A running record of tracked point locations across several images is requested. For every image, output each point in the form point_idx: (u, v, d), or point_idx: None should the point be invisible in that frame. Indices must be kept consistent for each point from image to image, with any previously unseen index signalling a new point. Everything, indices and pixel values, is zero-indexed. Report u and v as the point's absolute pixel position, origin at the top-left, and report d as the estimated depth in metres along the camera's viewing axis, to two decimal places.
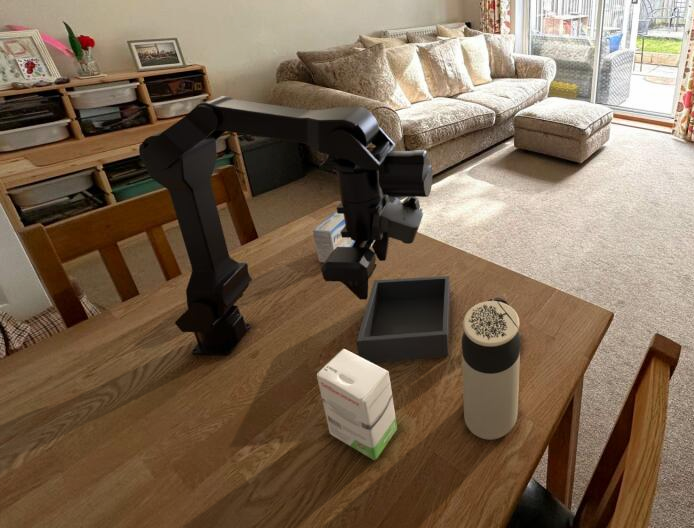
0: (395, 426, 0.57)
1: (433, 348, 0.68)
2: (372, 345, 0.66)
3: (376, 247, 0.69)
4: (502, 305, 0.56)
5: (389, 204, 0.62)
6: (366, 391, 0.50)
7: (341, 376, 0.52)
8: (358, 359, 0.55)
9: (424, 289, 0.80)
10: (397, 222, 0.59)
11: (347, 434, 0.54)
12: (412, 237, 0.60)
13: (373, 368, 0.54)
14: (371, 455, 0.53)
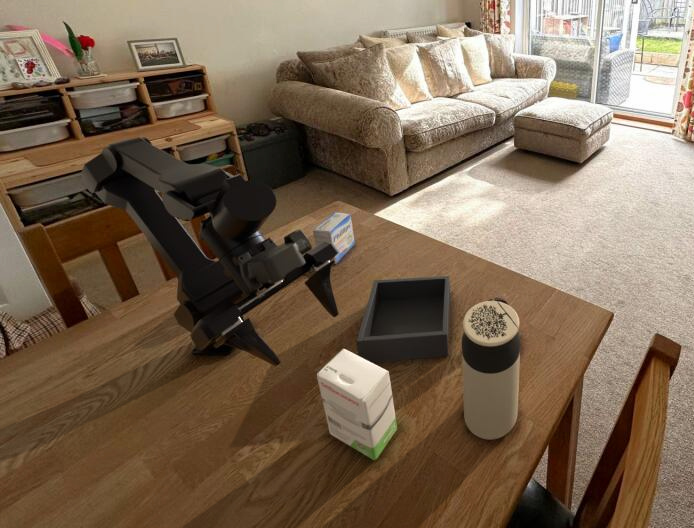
0: (395, 426, 0.57)
1: (433, 348, 0.68)
2: (372, 345, 0.66)
3: (323, 303, 0.60)
4: (502, 305, 0.56)
5: (271, 248, 0.55)
6: (366, 391, 0.50)
7: (341, 376, 0.52)
8: (358, 359, 0.55)
9: (424, 289, 0.80)
10: (252, 262, 0.51)
11: (347, 434, 0.54)
12: (271, 273, 0.50)
13: (373, 368, 0.54)
14: (371, 455, 0.53)
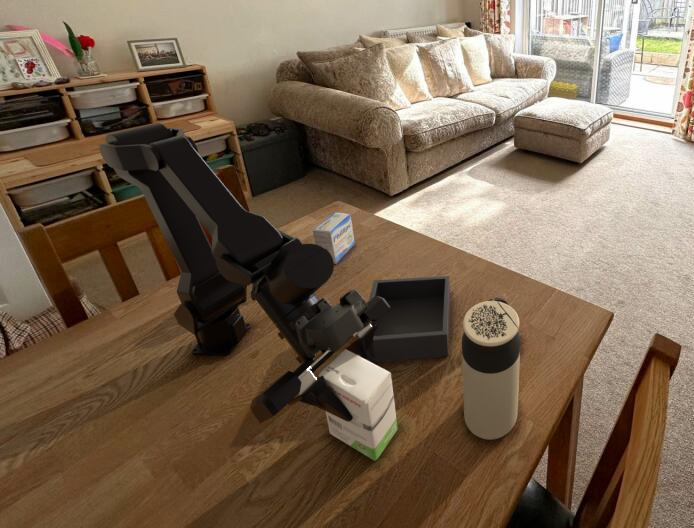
0: (396, 426, 0.57)
1: (433, 348, 0.68)
2: None
3: None
4: (502, 305, 0.56)
5: (326, 309, 0.54)
6: (369, 393, 0.50)
7: (343, 377, 0.52)
8: (360, 360, 0.55)
9: (424, 289, 0.80)
10: (312, 329, 0.49)
11: (348, 434, 0.54)
12: (332, 341, 0.48)
13: (375, 369, 0.53)
14: (372, 456, 0.53)
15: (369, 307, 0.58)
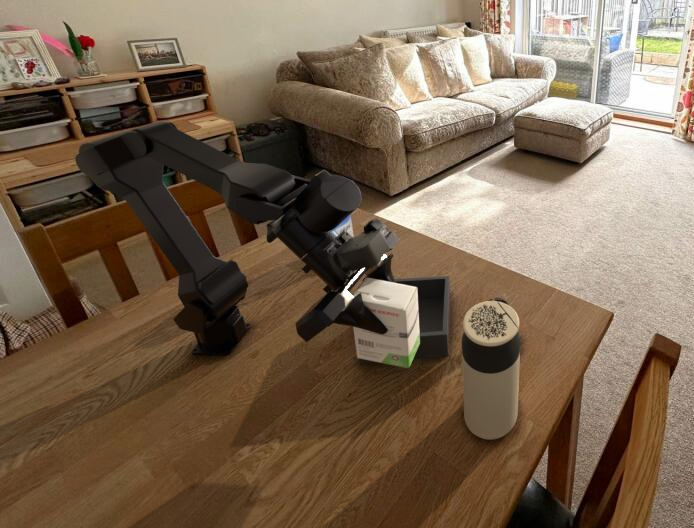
0: (419, 340, 0.63)
1: (433, 348, 0.68)
2: None
3: None
4: (502, 305, 0.56)
5: (350, 239, 0.58)
6: (404, 303, 0.56)
7: (374, 296, 0.57)
8: (385, 282, 0.60)
9: (424, 289, 0.80)
10: (347, 252, 0.54)
11: (380, 350, 0.59)
12: (370, 258, 0.53)
13: (402, 287, 0.59)
14: (405, 364, 0.59)
15: None
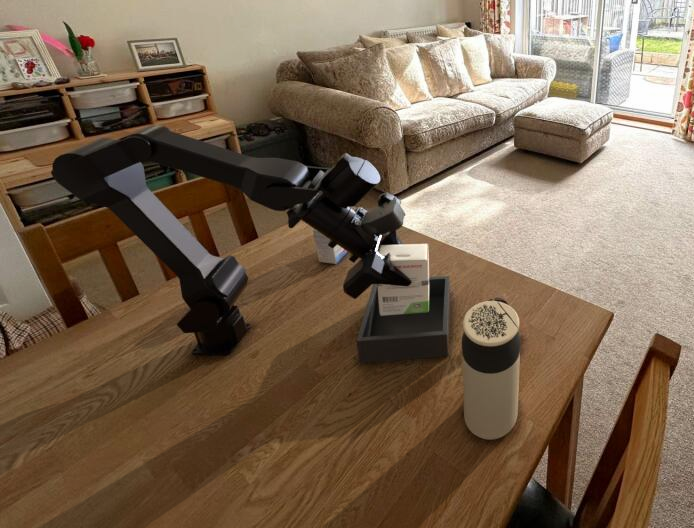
0: None
1: (433, 348, 0.68)
2: (372, 345, 0.66)
3: None
4: (502, 305, 0.56)
5: (367, 213, 0.67)
6: (424, 255, 0.68)
7: (396, 256, 0.68)
8: (399, 245, 0.70)
9: None
10: (375, 219, 0.63)
11: (403, 302, 0.70)
12: (397, 221, 0.64)
13: (415, 245, 0.71)
14: (426, 308, 0.71)
15: None
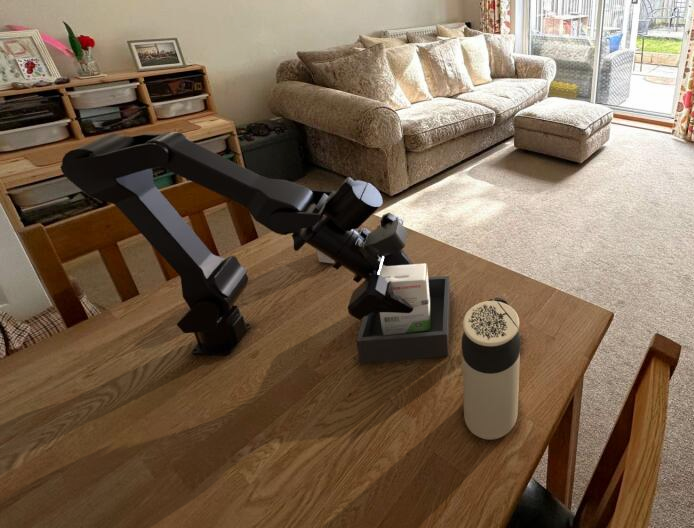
0: (430, 308, 0.77)
1: (433, 348, 0.68)
2: (372, 345, 0.66)
3: None
4: (502, 305, 0.56)
5: (370, 233, 0.68)
6: (422, 275, 0.70)
7: (396, 277, 0.69)
8: (398, 266, 0.72)
9: None
10: (378, 241, 0.65)
11: (405, 322, 0.71)
12: (399, 242, 0.65)
13: (414, 266, 0.72)
14: (427, 327, 0.73)
15: None
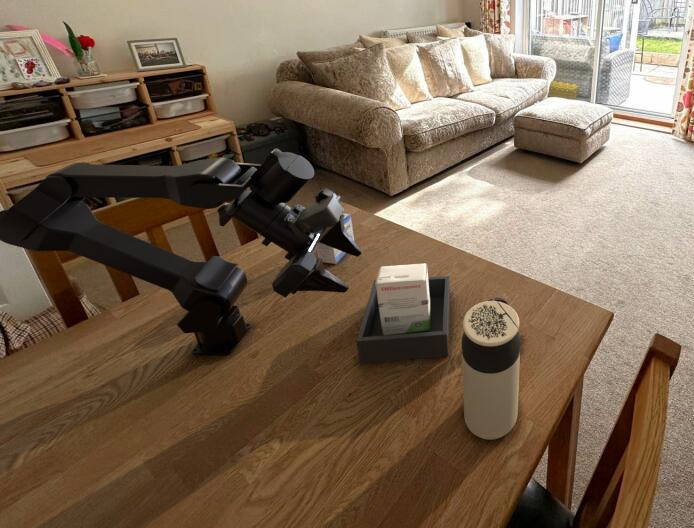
0: (430, 308, 0.77)
1: (433, 348, 0.68)
2: (372, 345, 0.66)
3: (345, 249, 0.73)
4: (502, 305, 0.56)
5: (304, 209, 0.65)
6: (422, 275, 0.70)
7: (396, 277, 0.69)
8: (398, 266, 0.72)
9: None
10: (309, 216, 0.62)
11: (405, 322, 0.71)
12: (331, 217, 0.63)
13: (414, 266, 0.72)
14: (427, 327, 0.73)
15: None
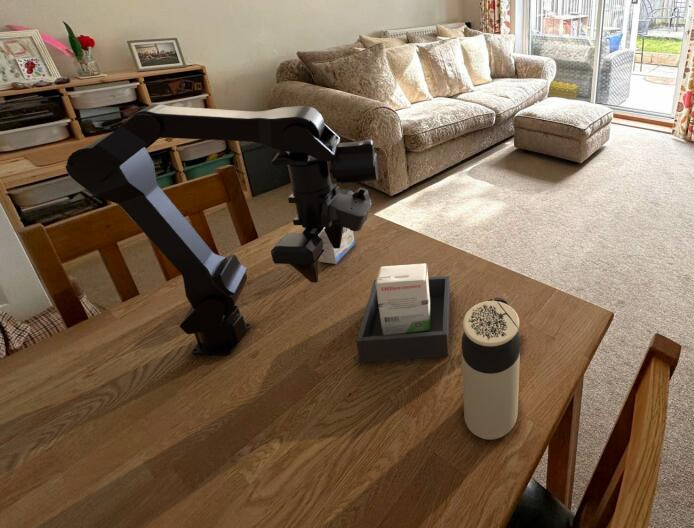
0: (430, 308, 0.77)
1: (433, 348, 0.68)
2: (372, 345, 0.66)
3: (330, 236, 0.74)
4: (502, 305, 0.56)
5: (339, 195, 0.67)
6: (422, 275, 0.70)
7: (396, 277, 0.69)
8: (398, 266, 0.72)
9: None
10: (344, 211, 0.64)
11: (405, 322, 0.71)
12: (358, 225, 0.65)
13: (414, 266, 0.72)
14: (427, 327, 0.73)
15: None
